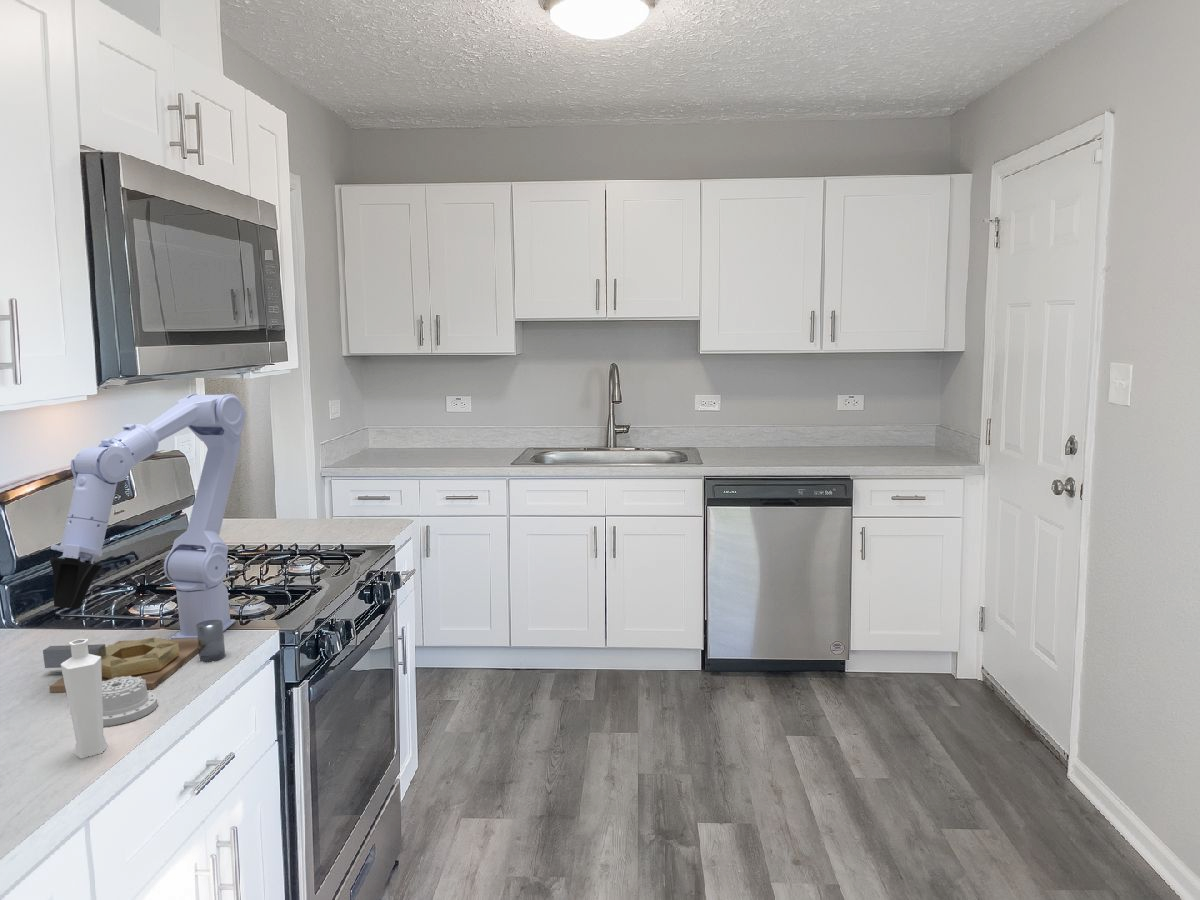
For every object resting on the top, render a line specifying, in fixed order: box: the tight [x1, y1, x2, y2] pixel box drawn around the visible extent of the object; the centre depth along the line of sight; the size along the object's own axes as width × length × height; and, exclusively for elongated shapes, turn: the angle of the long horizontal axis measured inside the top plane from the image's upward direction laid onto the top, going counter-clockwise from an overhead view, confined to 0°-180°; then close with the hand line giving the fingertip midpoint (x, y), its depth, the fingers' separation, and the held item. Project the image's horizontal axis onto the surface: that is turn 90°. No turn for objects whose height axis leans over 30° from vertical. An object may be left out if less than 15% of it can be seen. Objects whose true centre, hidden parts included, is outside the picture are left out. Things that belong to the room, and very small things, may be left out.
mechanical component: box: [102, 676, 158, 727], centre depth 129 cm, size 10×4×10 cm
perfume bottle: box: [61, 638, 109, 759], centre depth 116 cm, size 5×4×15 cm
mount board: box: [49, 638, 199, 693], centre depth 147 cm, size 20×16×1 cm
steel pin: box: [196, 620, 226, 663], centre depth 149 cm, size 4×4×6 cm
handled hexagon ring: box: [42, 636, 179, 679], centre depth 144 cm, size 20×13×3 cm
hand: (66, 607), depth 137 cm, fingers open, 7 cm apart
